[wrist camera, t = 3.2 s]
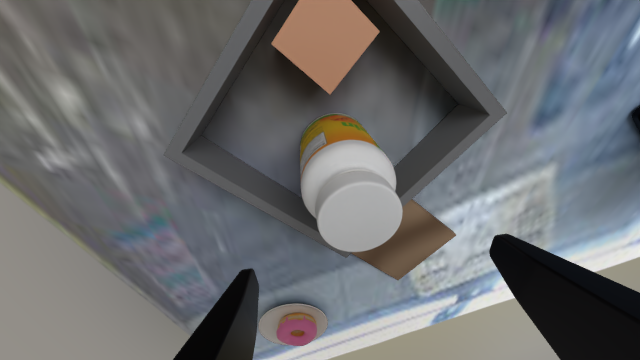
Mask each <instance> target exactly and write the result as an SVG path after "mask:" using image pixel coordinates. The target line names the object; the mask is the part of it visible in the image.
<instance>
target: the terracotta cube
mask: <svg viewBox="0 0 640 360" xmlns="http://www.w3.org/2000/svg"><path fill="white" fill-rule="evenodd" d="M379 32H380V31H379V30H378V29H377V28H376V27H375V26H374V25H373V24H372V22H371V21H370V20H369V19H368V18H367V17H366V16H365V15H364V14H363V13H362V12H361V10H360V9H359V8H358V7H357V6H356V5H355V4H354V3H353V2H352V1H351V0H299V1H298V3H297V4H296V6H295V7H294V9H293V10H292V12H291V14H290V15H289V17H288V18H287V20H286V21H285V23H284V25H283V26H282V28H281V29H280V31H279V32H278V34H277V35H276V37H275V39H274V40H273V42H272V43H271V44H272V45H273V46H274V47H275V48H277V49H278V50H279V51H280V52H281V53H282V54H284V55H285V56H286V57H287V58H288V59H289V60H290V61H292V62H293V63H294V64H295V65H296V66H297V67H299V68H300V69H301V70H302V71H303V72H304V73H306V74H307V75H308V76H309V77H310V78H311V79H313V80H314V81H315V82H316V83H317V84H318V85H319V86H321V87H322V88H323V89H324V90H325V91H326V92H328V93H329V94H331V93H332V92H333V90H334V89H335V88H336V87H337V85H338V84H339V83H340V82H341V80H342V79H343V78H344V76H345V75H346V74H347V73H348V71H349V70H350V69H351V68H352V66H353V65H354V64H355V62H356V61H357V60H358V59H359V57H360V56H361V55H362V54H363V52H364V51H365V50H366V49H367V47H368V46H369V45H370V43H371V42H372V41H373V40H374V38H375V37H376V36H377V35H378V33H379Z"/></svg>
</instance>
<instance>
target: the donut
mask: <svg viewBox="0 0 640 360" xmlns="http://www.w3.org/2000/svg"><path fill="white" fill-rule="evenodd" d="M327 325H328V320H327V317H326V315H325V314H324V313H323V312H322V311H321V310H320V309H318V308H316V307H313V306H310V305H306V304H297V303H294V304H285V305H280V306H278V307H275V308H273V309H271V310H269V311H268V312H266V313H265V314H264V315H263V316H262V317H261V319H260V321H259V325H258V328H259V331H260V333H261V335H262V336H263V337H264V338H266V339H267V340H269V341H271V342H273V343H277V344H281V345H293V346H303V345H306V344H308V343H310V342H311V341H313V340H315V339H317V338H318V337H320V336H321V335H322V334H323V333H324V332H325V330H326V329H327Z"/></svg>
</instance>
